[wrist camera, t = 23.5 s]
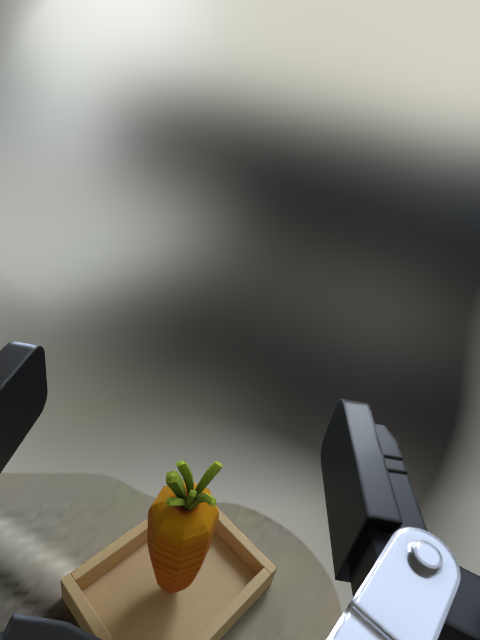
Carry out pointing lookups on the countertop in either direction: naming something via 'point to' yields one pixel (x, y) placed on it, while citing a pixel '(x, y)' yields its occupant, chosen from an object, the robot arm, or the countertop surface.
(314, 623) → the countertop surface
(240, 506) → the countertop surface
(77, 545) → the countertop surface
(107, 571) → the tray
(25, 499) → the countertop surface
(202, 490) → the carrot
